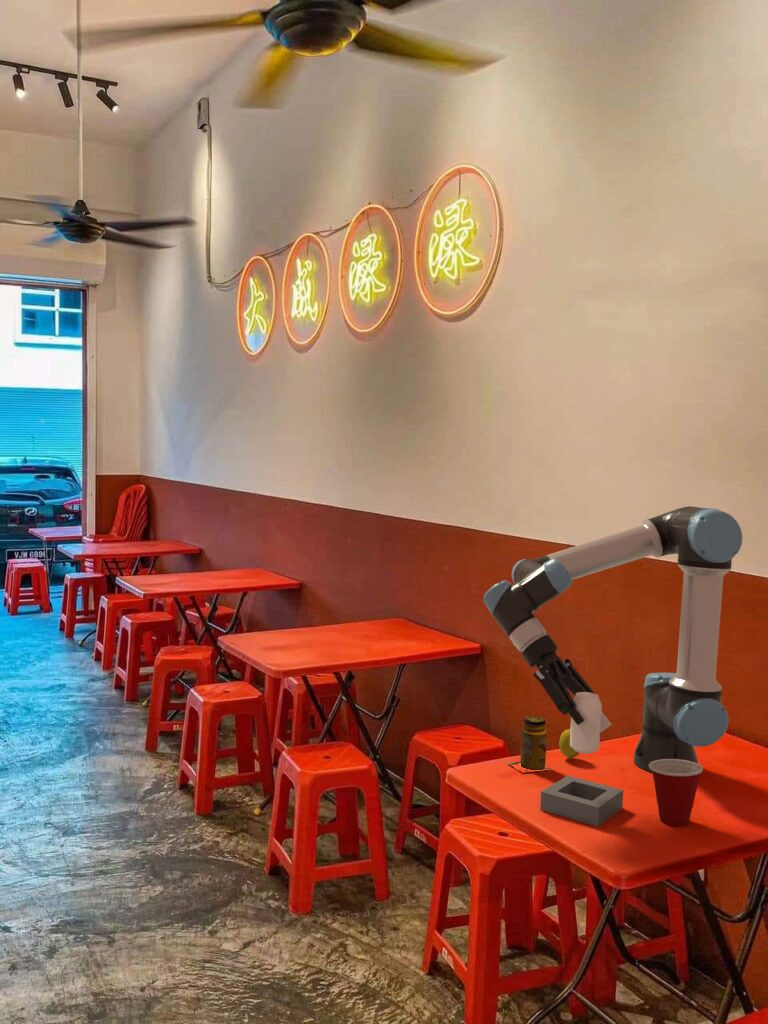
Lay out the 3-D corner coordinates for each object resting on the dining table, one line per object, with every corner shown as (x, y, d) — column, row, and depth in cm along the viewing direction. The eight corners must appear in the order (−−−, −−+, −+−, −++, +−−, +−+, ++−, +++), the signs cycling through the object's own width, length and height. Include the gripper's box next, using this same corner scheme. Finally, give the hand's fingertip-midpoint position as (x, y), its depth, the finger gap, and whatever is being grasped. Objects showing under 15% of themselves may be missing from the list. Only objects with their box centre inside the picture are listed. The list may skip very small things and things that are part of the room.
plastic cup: (658, 806, 190) (660, 752, 190) (708, 820, 183) (710, 764, 183) (637, 821, 182) (640, 764, 181) (689, 836, 175) (692, 777, 174)
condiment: (552, 770, 211) (554, 721, 211) (523, 774, 208) (525, 724, 207) (535, 760, 218) (537, 713, 217) (506, 764, 214) (508, 716, 214)
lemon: (569, 754, 223) (570, 723, 223) (585, 760, 219) (587, 729, 218) (554, 757, 220) (555, 726, 220) (570, 764, 216) (571, 732, 215)
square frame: (567, 792, 197) (567, 775, 196) (622, 808, 189) (623, 789, 188) (540, 810, 186) (541, 791, 186) (597, 826, 178) (598, 807, 178)
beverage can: (587, 744, 191) (590, 690, 190) (605, 753, 185) (608, 698, 184) (563, 746, 189) (566, 692, 188) (580, 756, 183) (583, 700, 182)
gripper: (543, 647, 203) (606, 731, 194) (501, 660, 188) (567, 752, 179) (565, 627, 199) (630, 712, 190) (524, 639, 184) (593, 732, 175)
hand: (599, 731), depth 185 cm, fingers closed on beverage can, 6 cm apart
